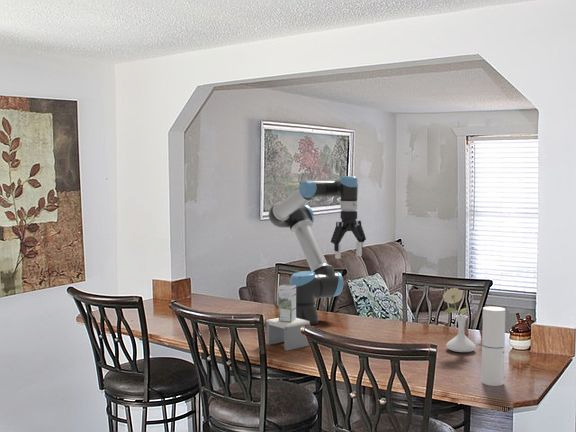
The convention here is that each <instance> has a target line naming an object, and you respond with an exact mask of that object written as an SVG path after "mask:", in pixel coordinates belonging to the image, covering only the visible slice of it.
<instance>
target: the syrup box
mask: <svg viewBox="0 0 576 432" xmlns="http://www.w3.org/2000/svg"><path fill="white" fill-rule="evenodd" d="M278 318H279V321H282V322H293V321H295V320H296V285H290V284H285V283H283V284H280V285H279V286H278Z"/></svg>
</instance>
